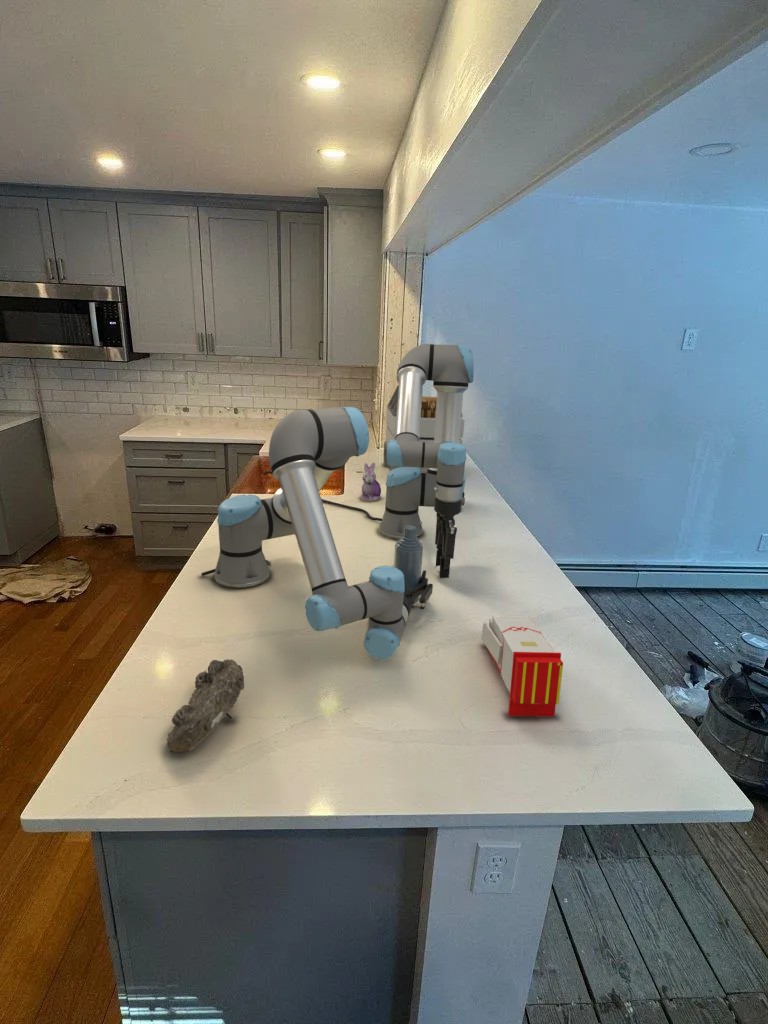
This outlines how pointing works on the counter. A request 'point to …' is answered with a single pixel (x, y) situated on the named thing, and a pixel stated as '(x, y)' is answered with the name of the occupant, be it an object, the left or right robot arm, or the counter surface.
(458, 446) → the right robot arm
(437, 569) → the cap
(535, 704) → the toy
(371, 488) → the figurine
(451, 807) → the counter surface
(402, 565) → the bottle
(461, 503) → the figurine character
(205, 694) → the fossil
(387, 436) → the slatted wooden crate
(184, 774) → the counter surface
